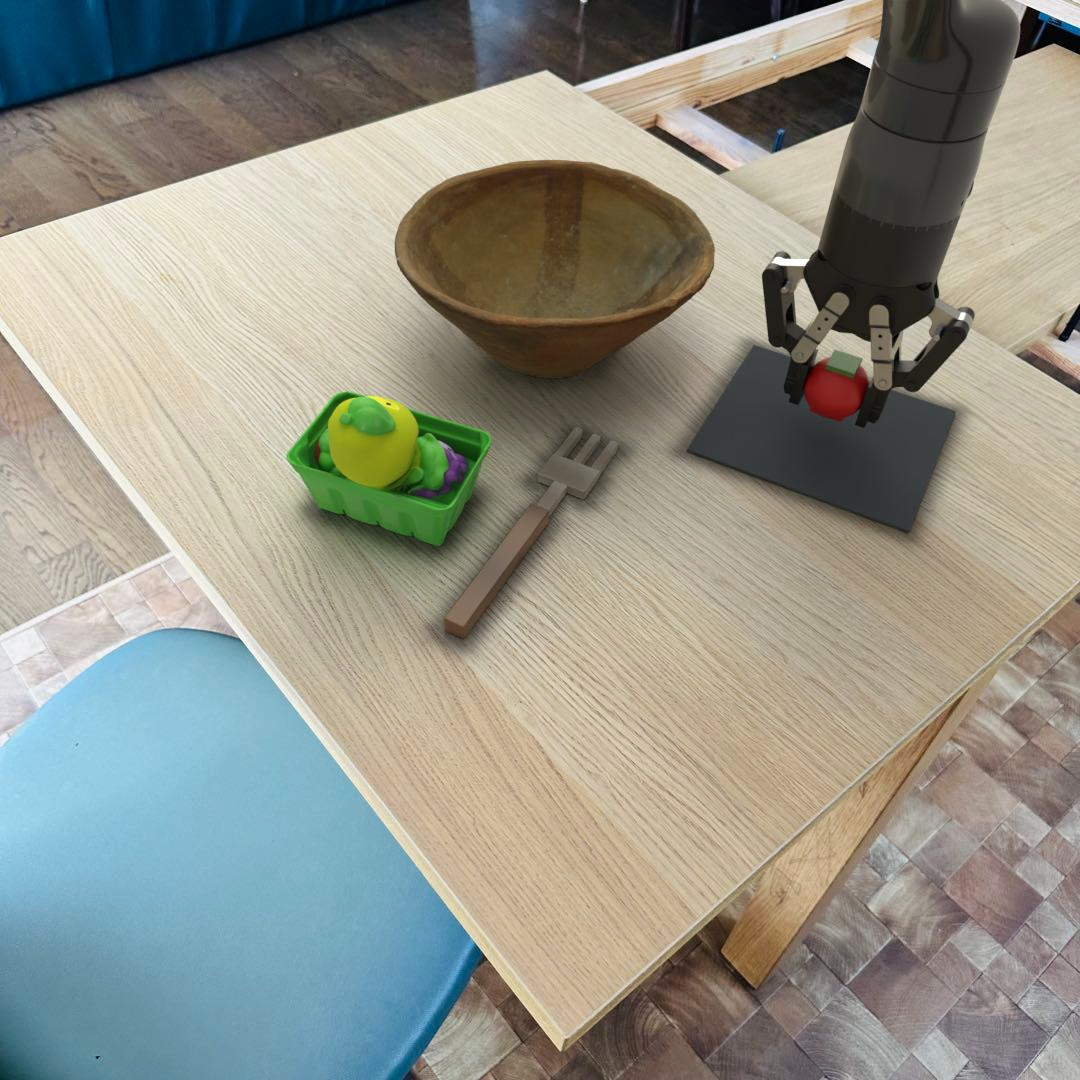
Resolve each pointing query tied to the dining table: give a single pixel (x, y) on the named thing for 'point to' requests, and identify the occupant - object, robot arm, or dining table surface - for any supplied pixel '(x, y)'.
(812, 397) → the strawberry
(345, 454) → the fruit basket
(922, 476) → the placemat
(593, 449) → the fork
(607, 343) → the bowl
